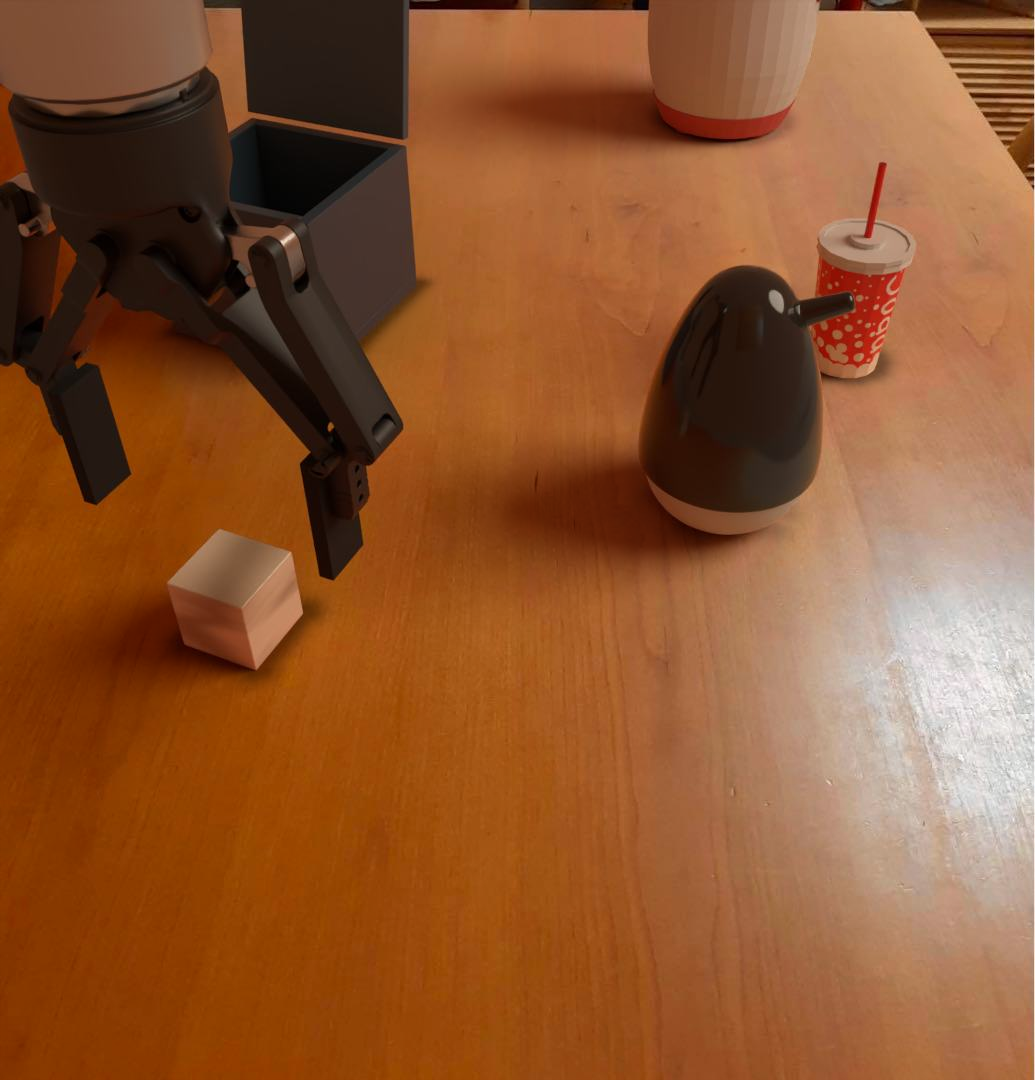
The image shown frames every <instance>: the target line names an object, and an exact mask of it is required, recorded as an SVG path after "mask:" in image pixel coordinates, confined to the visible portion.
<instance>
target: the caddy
mask: <svg viewBox="0 0 1035 1080" xmlns="http://www.w3.org/2000/svg"><path fill="white" fill-rule="evenodd" d="M228 133H229V138H230V143H231V149H232V154H233V163H232V170H231V176H230V184H229V197H230V201H231V203H232V206H233V208H234V210H235V212H236V213H237V215H238V217H239V218H240V220H241V222H242V223H243V225H244V226H254V227H266V228H275V227H277V226H278V225H279V224H280V223H282V222H283V221H284V220H286V219H287V218H288V217H295V218H298V219H300V220H301V221H303V222H304V223H305V225H306V226H307V227H308V230H309V232H310V236H311V240H312V244H313V248H314V252H315V256H316V260H317V264H318V268H319V272H320V274H321V276H322V278H323V280H324V282H325V283H326V285H327V287H328V289H329V291H330V292H331V294H332V296H333V298H334V299H335V301H336V303H337V305H338V307H339V308H340V310H341V312H342V314H343V316H344V317H345V319H346V321H347V323H348V324H349V326H350V328H351V330H352V332H353V333H354V335H355V337H356V339H357V341H358V342H359V343H360V342H361V341H362V340H363V339H364V338H365V337H366V336H367V335H368V334H369V333H370V332H371V331H372V330H373V329H374V328H375V327H376V326H378V324H379V323H380V322H382V320H384V318H385V317H387V316H388V315H389V314H390V313H391V312H392V311H393V310H394V308H395V307H396V306H398V305H399V304H400V302H401V301H402V300H404V299H405V298H406V297H407V296H408V295H409V294H410V293H411V292H412V291H413V290H414V289H415V288H416V287H417V285H418V282H417V270H416V269H417V268H416V257H415V255H416V254H415V244H414V243H415V242H414V241H415V240H414V229H413V218H412V217H413V216H412V205H411V204H412V203H411V192H410V179H409V165H408V154H407V153H408V152H407V146H406V145H404V144H399V143H392V142H388V141H381V140H376V139H371V138H365V137H360V136H355V135H349V134H345V133H337V132H333V131H327V130H322V129H317V128H311V127H306V126H300V125H295V124H289V123H283V122H278V121H274V120H267V119H261V118H257V117H251V118H249V119H247V120H246V121H245V122H243V123H241V124H239V125H238V126H236V127H235V128H233V129H232V130H230V131H228ZM234 302H235V296H234V294H233V293H232V291H231V290H230V289H229V288H228V287H227V286H226V288H225V289H224V291H223V293H222V295H221V296H220V298H219V299H218V300H217V301H216V302H215V303H213V304H212V305H211V307H212V308H213V309H214V310H215V311H217V312H223V311H225V310H226V309H227V308H228V307H229V306H231V305H232V304H233V303H234ZM172 324H173V327H174V331H175V333H177V334H181V335H184V336H188V337H192V338H196V339H199V340H201V339H200V338H199V337H198V336H197V334H196V333H195V332H194V331H193V330H192V329H191V327H190V326H189V325H188V324H187V323H186V322H183V323H180V322H176V321H172Z"/></svg>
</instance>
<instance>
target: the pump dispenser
mask: <svg viewBox="0 0 1035 1080" xmlns="http://www.w3.org/2000/svg"><path fill="white" fill-rule="evenodd" d="M854 308H855V299H854V295H853V294H852V293H851V292H850V291H846V292H841V293H835V294H830V295H825V296H820V297H815V296H814V297H810V298H809V297H808V298H805V299H799V298H798V296H797V295H796V293H795V290H794V289H793V288H792V286H791V285H790V284H789V282H788V281H787V280H786V279H785V277H783V276H782V275H781V274H779V273H778V272H776V271H774V270H772V269H770V268H768V267H764V266H761V265H758V264H757V265H756V264H740V265H735V266H734V265H733V266H730V267H727V268H725V269H721V271H719V272H717V273H716V274H714V275H712V276H711V277H710V278H709V279H708V280H707V281H706V282H705V283H704V284H703V285H702V286H701V287H700V288H699V289H698V291H697V292H696V293H695V294H694V296H692V298H691V299H690V301H689V302H688V304H687V305H686V307H685V308H684V310H683V312H682V313H681V315H680V317H679V319H678V320H677V321H676V323H675V325H674V326H673V329H672V331H671V333H670V335H669V336H668V339H667V340H666V342H665V345H664V346H663V349H662V351H661V353H660V355H659V359H658V361H657V363H656V366H655V368H654V371H653V374H652V376H651V379H650V382H649V386H648V389H647V394H646V398H645V401H644V406H643V410H642V413H641V417H640V418H641V419H640V425H639V428H638V435H637V436H638V437H637V438H638V439H637V456H638V462H639V464H640V466H641V469H642V471H643V472H644V474H645V477H646V481H647V482H648V484H649V488H650V490H651V491H652V493H653V495H654V497H655V498H656V500H657V501H658V502H659V504H660V505H661V506H662V507H663V509H664V510H665V511H667V512H668V513H669V515H671V516H672V517H674V518H675V519H677V520H678V521H680V522H681V523H683V524H685V525H687V526H688V527H691V528H693V529H696V530H698V531H701V532H705V533H710V534H715V535H727V536H728V535H729V536H730V535H732V536H733V535H742V534H748V533H752V532H755V531H759V530H762V529H765V528H766V527H768V526H770V525H773V524H774V523H776V522H777V521H779V520H780V519H781V518H783V517H784V516H786V514H788V512H790V511H791V510H792V508H793V507H794V506H795V505H796V504H797V503H798V501H799V500H800V498H801V497H802V496H803V494H804V493H805V492H806V491H807V490H808V489H809V488H810V486H811V485H812V484H813V482H814V480H815V479H816V477H817V474H818V472H819V471H818V470H819V467H820V461H821V458H822V451H823V450H822V448H823V436H824V435H823V433H824V393H823V392H824V391H823V382H822V374H821V373H822V372H821V371H820V367H819V361H818V356H817V351H816V347H815V343H814V339H813V336H812V333H811V326H812V325H814V324H817V323H820V322H823V321H826V320H829V319H832V318H835V317H838V316H841V315H844V314H847V313H850V312H852V311H853V310H854Z"/></svg>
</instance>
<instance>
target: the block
mask: <svg viewBox="0 0 1035 1080" xmlns="http://www.w3.org/2000/svg"><path fill="white" fill-rule="evenodd" d="M298 584H299V583H298V579H297V573H296V568H295V563H294V558H293V553H292V551H290V550H287V549H284V548H280V547H277V546H274V545H271V544H268V543H265V542H261V541H258V540H256V539H253V538H250V537H246V536H243V535H240V534H236V533H233V532H231V531H228V530H224V529H222V528H218V529H217V530H216V531H214V533H213V534H212V535H211V536H210V537H209V538H208V539H207V540H206V541H205V543H203V545H201V546H200V548H198V550H196V551H195V552H194V553H193V555H192V556H191V557H190V558H188V560H187V561H186V562H185V563H184V564H183V565H182V566H181V567H180V568H179V569H177V571H176V572H175V573H174V574H173V575H172V576H171V577H170V578H169V580H167V582H166V587H167V591H168V594H169V598H170V601H171V604H172V608H173V612H174V615H175V617H176V618H175V619H176V621H177V624H178V628H179V631H180V636H181V638H182V641H183V644H184V646H187V647H190V648H192V649H196V650H198V651H201V652H204V653H207V654H209V655H212V656H215V657H217V658H221V659H223V660H226V661H229V662H231V663H235V664H237V665H239V666H243V667H245V668H248V669H250V670H254V671H257V670H258V669H259V668H260V667H261V665H262V664H263V663H264V662H265V661H266V659H268V657H269V656H270V654H271V653H272V652H273V651H274V649H275V648H276V647H277V646H278V645H279V644H280V643H281V641H282V640H283V638H284V637H285V636H286V635H287V634H288V633H289V631H290V630H291V629H293V627H294V625H295V624H296V623H297V621H298V620H299V619H300V618H301V617H302V616H303V614H304V610H303V605H302V599H301V594H300V590H299V585H298Z"/></svg>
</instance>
